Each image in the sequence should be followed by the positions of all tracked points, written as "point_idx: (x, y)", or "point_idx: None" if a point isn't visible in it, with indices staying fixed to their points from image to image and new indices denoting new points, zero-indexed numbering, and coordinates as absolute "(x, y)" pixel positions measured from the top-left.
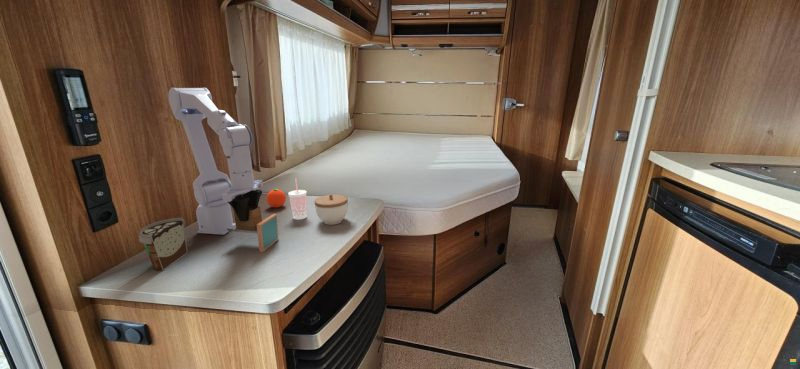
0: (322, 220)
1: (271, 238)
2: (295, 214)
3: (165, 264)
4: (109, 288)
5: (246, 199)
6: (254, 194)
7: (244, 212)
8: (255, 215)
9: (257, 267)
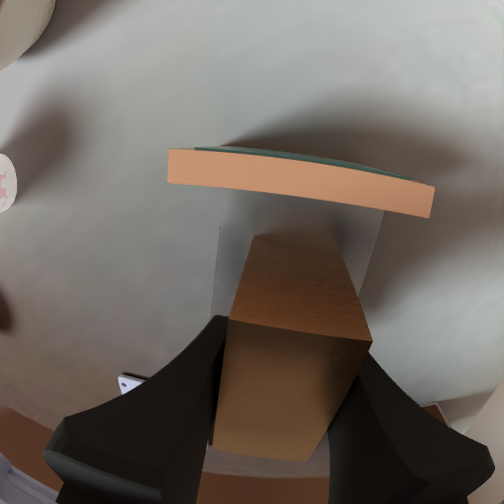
0: (42, 23)
1: (287, 152)
2: (1, 190)
3: (428, 412)
4: (470, 424)
5: (468, 465)
6: (178, 483)
7: (390, 380)
8: (322, 296)
9: (484, 136)
